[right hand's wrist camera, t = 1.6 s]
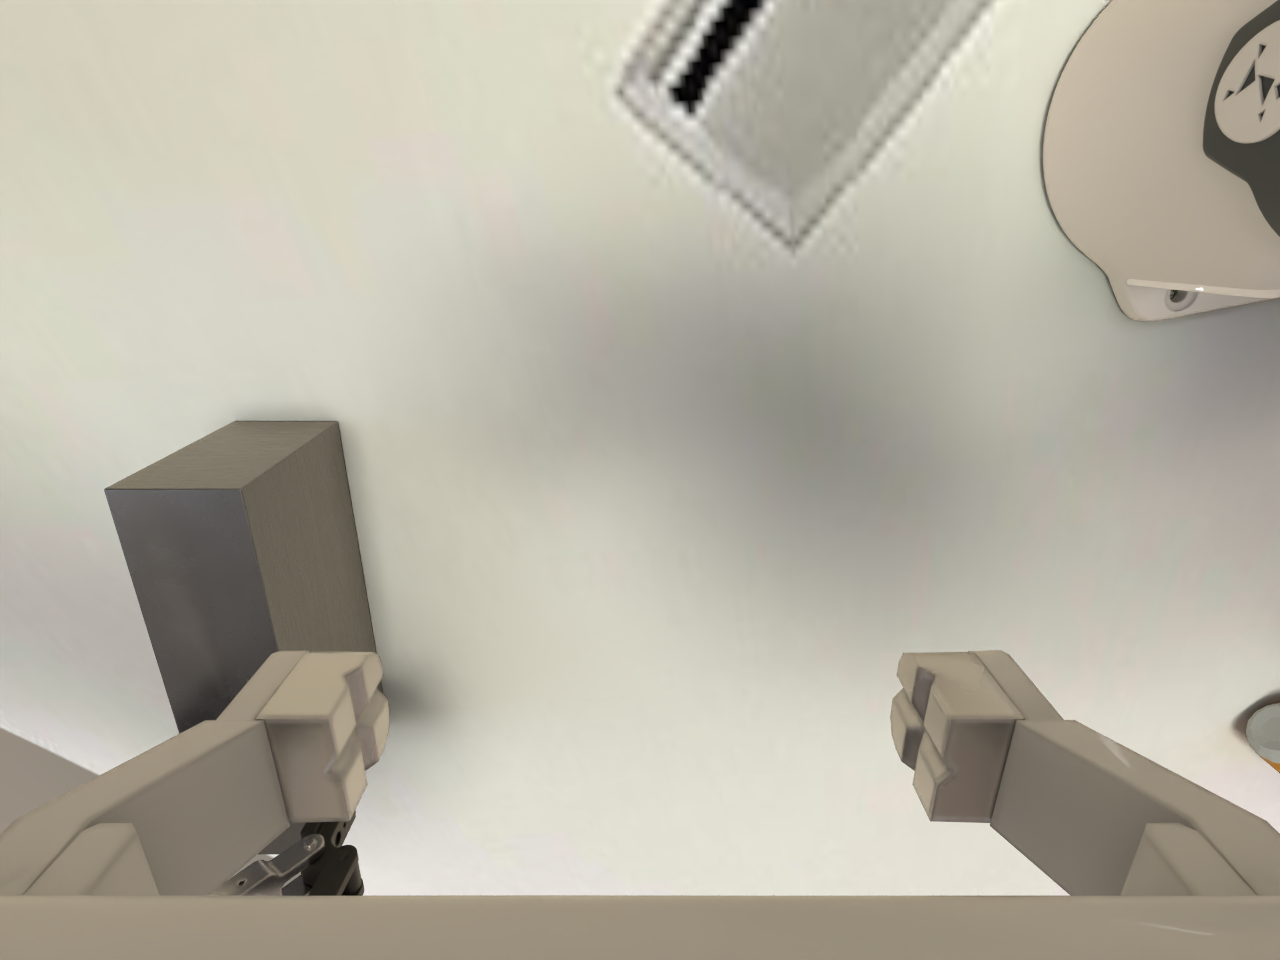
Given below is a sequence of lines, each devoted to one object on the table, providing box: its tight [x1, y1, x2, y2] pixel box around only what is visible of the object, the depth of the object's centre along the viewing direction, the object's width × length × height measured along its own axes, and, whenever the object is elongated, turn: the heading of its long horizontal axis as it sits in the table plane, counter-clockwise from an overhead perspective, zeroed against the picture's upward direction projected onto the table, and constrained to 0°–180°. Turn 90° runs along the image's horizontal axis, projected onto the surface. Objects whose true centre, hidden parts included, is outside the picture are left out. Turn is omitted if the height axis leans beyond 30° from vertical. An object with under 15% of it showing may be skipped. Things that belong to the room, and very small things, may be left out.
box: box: [104, 421, 383, 854], centre depth 38 cm, size 22×6×10 cm, turn 0°
